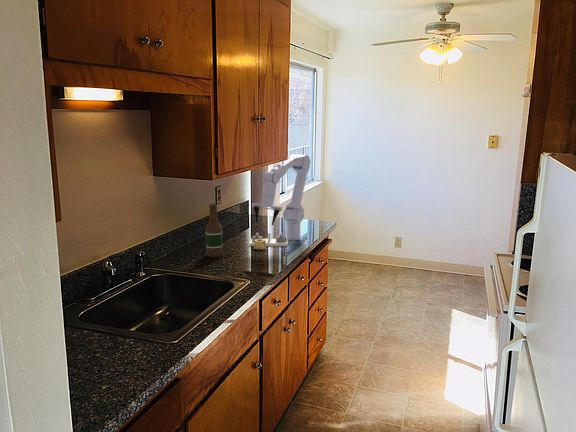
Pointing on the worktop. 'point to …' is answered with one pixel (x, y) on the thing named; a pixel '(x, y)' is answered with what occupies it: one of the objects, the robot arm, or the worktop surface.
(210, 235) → the beer bottle
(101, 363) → the worktop surface
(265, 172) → the robot arm
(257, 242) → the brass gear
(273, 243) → the gear board
